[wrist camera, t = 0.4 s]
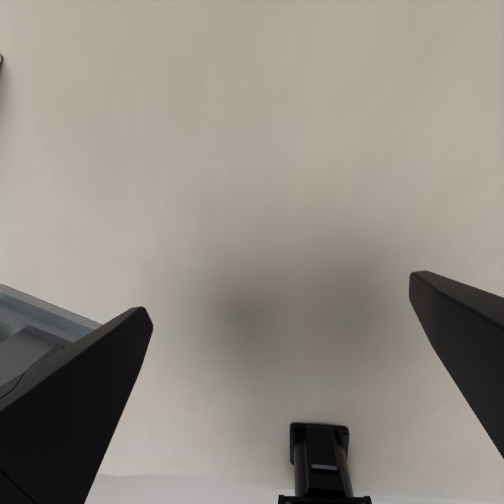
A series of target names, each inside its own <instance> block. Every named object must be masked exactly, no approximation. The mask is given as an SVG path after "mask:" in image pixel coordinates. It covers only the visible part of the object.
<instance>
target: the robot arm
mask: <svg viewBox="0 0 504 504" xmlns="http://www.w3.org/2000/svg"><path fill="white" fill-rule="evenodd" d="M409 299H410V302H411V304H412V306H413V308H414V310H415V312H416V315H417V317H418V319H419V321H420V323H421V325H422V327H423V329H424V331H425V333H426V335H427V337H428V339H429V341H430V343H431V345H432V347H433V348H434V350H435V352H436V353H437V355H438V357H439V358H440V360H441V361H442V363H443V364H444V366H445V368H446V369H447V371H448V372H449V374H450V375H451V377H452V379H453V380H454V382H455V383H456V385H457V386H458V388H459V390H460V391H461V393H462V394H463V396H464V397H465V399H466V401H467V402H468V404H469V405H470V407H471V408H472V410H473V411H474V413H475V415H476V416H477V418H478V419H479V421H480V422H481V424H482V426H483V427H484V429H485V430H486V432H487V433H488V435H489V437H490V438H491V440H492V441H493V443H494V444H495V446H496V448H497V449H498V451H499V452H500V454H501V455H502V457H503V459H504V298H503V297H500V296H497V295H495V294H492V293H489V292H486V291H483V290H480V289H478V288H475V287H472V286H469V285H466V284H463V283H460V282H458V281H455V280H452V279H449V278H446V277H443V276H440V275H438V274H435V273H432V272H429V271H417V272H412V273H411V274H410V280H409ZM152 332H153V324H152V321H151V319H150V317H149V315H148V313H147V311H146V309H145V308H144V307H142V306H141V307H133V308H131V309H129V310H127V311H126V312H124V313H122V314H120V315H119V316H117V317H115V318H114V319H112V320H110V321H109V322H107V323H105V324H104V325H102V326H100V327H99V328H97V329H95V330H94V331H92V332H90V333H89V334H87V335H85V336H84V337H82V338H80V339H79V340H77V341H75V342H74V343H72V344H70V345H68V346H67V347H65V348H63V349H62V350H60V351H58V352H57V353H55V354H53V355H52V356H50V357H48V358H47V359H45V360H43V361H42V362H40V363H38V364H37V365H35V366H33V367H32V368H30V369H28V370H27V371H26V372H23V373H21V374H20V375H18V376H16V377H15V378H13V379H11V380H10V381H8V382H6V383H5V384H3V385H1V386H0V504H84V503H85V500H86V498H87V496H88V493H89V491H90V489H91V486H92V484H93V481H94V479H95V477H96V474H97V472H98V470H99V467H100V465H101V462H102V460H103V458H104V455H105V453H106V451H107V448H108V446H109V443H110V441H111V439H112V436H113V434H114V432H115V429H116V427H117V424H118V422H119V420H120V417H121V415H122V413H123V410H124V408H125V405H126V403H127V401H128V398H129V396H130V394H131V391H132V389H133V386H134V384H135V382H136V379H137V377H138V375H139V372H140V369H141V367H142V364H143V361H144V357H145V354H146V351H147V348H148V344H149V341H150V338H151V335H152ZM348 443H349V430H348V428H346V427H339V426H324V425H310V424H296V423H293V424H291V425H290V462H291V464H293V465H294V475H295V496H284V495H279V498H278V504H372V503H371V499H370V496H364V497H354V495H353V490H352V485H351V480H350V475H349V470H348V465H347V453H348Z"/></svg>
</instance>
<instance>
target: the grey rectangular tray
mask: <svg viewBox="0 0 504 504" xmlns="http://www.w3.org/2000/svg"><path fill="white" fill-rule="evenodd" d="M100 326H102V324H99V323H97V322H94V321H92V320H89V319H87V318H84V317H82V316H79V315H77V314H74V313H72V312H69V311H67V310H64V309H62V308H59V307H57V306H54V305H52V304H50V303H47V302H45V301H42V300H40V299H37V298H35V297H32V296H30V295H27V294H25V293H22V292H20V291H17V290H15V289H12V288H10V287H7V286H5V285H2V284H1V285H0V343H2V342H3V341H5V340H6V339H8V338H9V337H11V336H12V335H14V334H15V333H17V332H18V331H20V330H21V329H22V330H24V331H27V332H29V333H32V334H34V335H37V336H39V337H42V338H44V339H47V340H49V341H52V342H54V343H57V344H59V345H62V346H63V347H62V349H63V348H65V347H67V346H68V345H70V344H72V343H74V342H75V341H77V340H79V339H80V338H82V337H84V336H85V335H87V334H89V333H90V332H92V331H94V330H95V329H97V328H99V327H100Z"/></svg>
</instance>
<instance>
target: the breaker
mask: <svg viewBox="0 0 504 504" xmlns="http://www.w3.org/2000/svg"><path fill="white" fill-rule="evenodd" d="M62 347H63V346H62V345H59V344H57V343H54V342H52V341H49V340H47V339H44V338H42V337H39V336H37V335H34V334H32V333H29V332H27V331H24V330H22V329H21V330H20V331H18V332H17V333H15V334H14V335H12V336H11V337H9V338H8V339H6V340H5V341H3V342H2V343H0V386H1V385H3V384H5V383H6V382H8V381H10V380H11V379H13V378H15V377H16V376H18V375H20V374H21V373H23V372H26V371H27V370H28V369H30V368H32V367H33V366H35V365H37V364H38V363H40V362H42V361H43V360H45V359H47V358H48V357H50V356H52V355H53V354H55V353H57V352H58V351H60V350H62Z"/></svg>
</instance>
